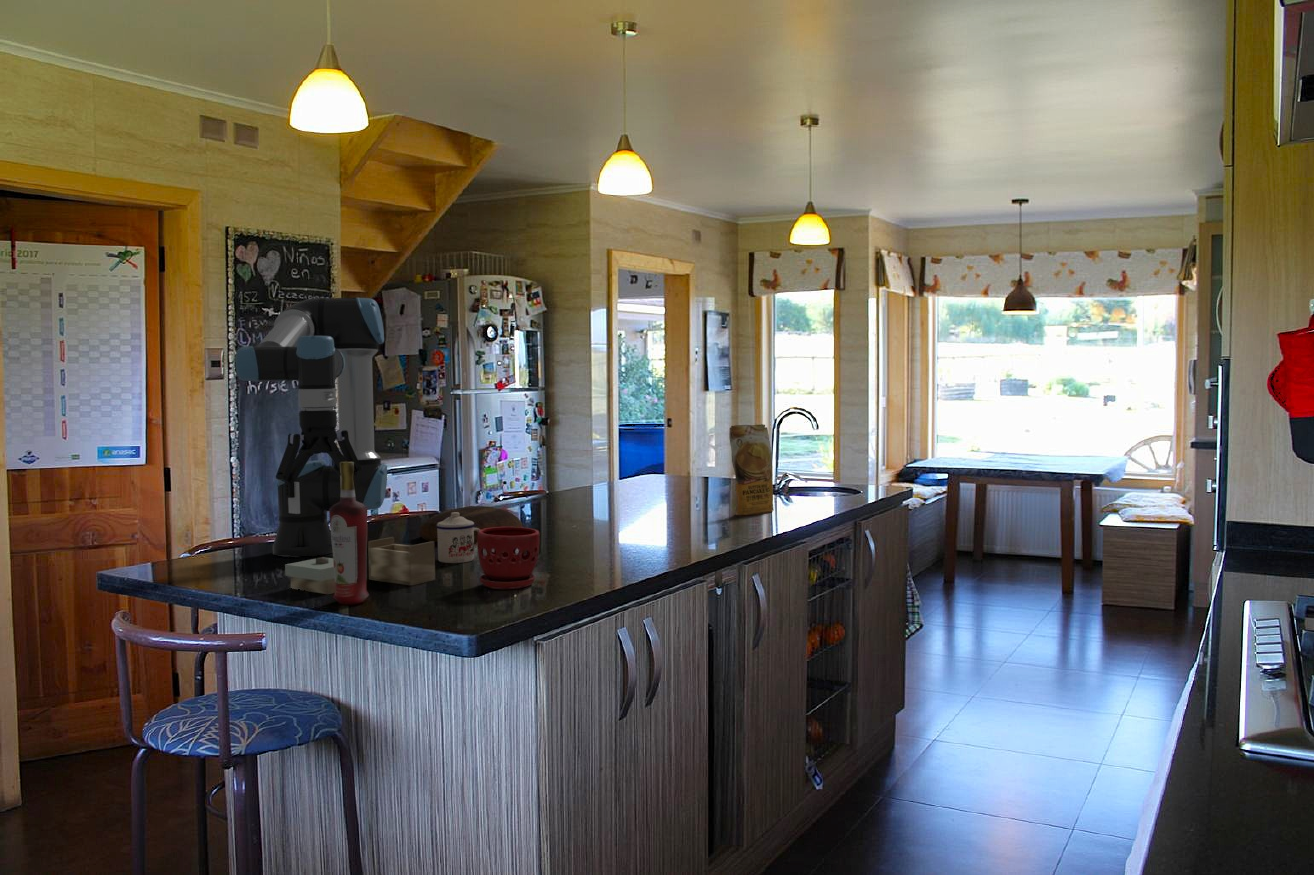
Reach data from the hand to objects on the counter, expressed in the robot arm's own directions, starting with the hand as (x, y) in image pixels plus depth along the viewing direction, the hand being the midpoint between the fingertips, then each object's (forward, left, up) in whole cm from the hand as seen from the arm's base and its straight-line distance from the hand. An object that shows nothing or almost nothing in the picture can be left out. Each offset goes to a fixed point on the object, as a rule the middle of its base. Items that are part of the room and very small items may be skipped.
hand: (321, 509), depth 222 cm
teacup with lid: (+2, +39, -17) cm, 43 cm away
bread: (-19, +66, -17) cm, 71 cm away
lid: (0, -1, -14) cm, 14 cm away
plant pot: (+33, +21, -17) cm, 43 cm away
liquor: (+16, -7, -17) cm, 25 cm away
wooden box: (+8, +14, -17) cm, 24 cm away
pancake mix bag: (+26, +145, -17) cm, 149 cm away
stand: (0, -1, -17) cm, 17 cm away
